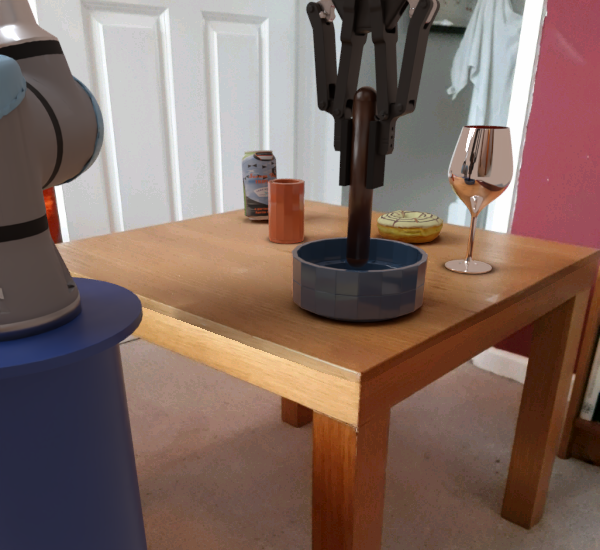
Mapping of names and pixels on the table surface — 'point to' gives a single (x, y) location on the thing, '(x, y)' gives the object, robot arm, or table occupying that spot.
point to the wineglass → (479, 179)
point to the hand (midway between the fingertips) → (361, 185)
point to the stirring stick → (360, 179)
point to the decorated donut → (409, 226)
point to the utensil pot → (286, 210)
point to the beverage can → (257, 182)
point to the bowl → (358, 280)
